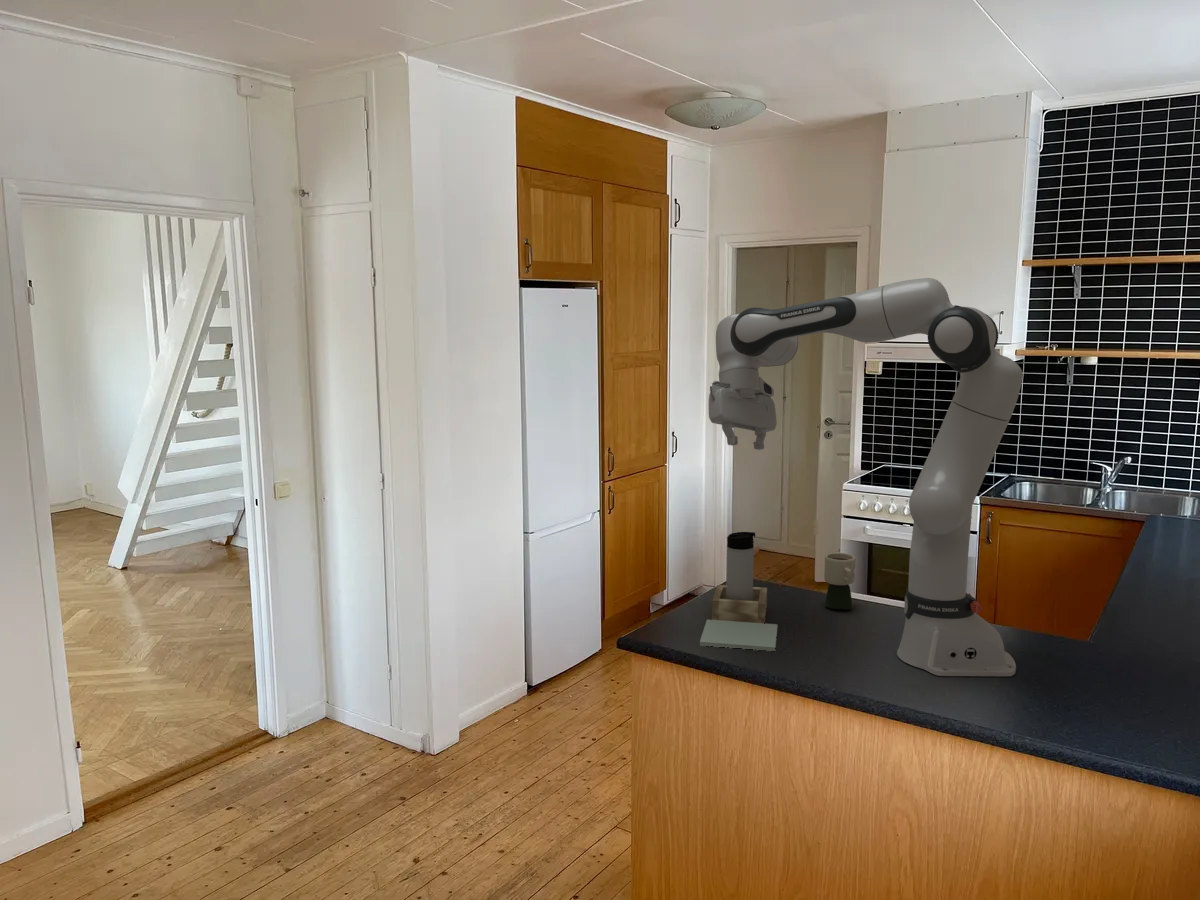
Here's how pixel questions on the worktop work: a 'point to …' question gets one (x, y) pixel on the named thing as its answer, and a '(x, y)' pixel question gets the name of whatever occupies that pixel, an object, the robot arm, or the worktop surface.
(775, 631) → the sage mat
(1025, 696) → the worktop surface
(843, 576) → the character mug
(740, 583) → the travel mug
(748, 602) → the birch holder
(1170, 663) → the worktop surface
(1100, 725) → the worktop surface
